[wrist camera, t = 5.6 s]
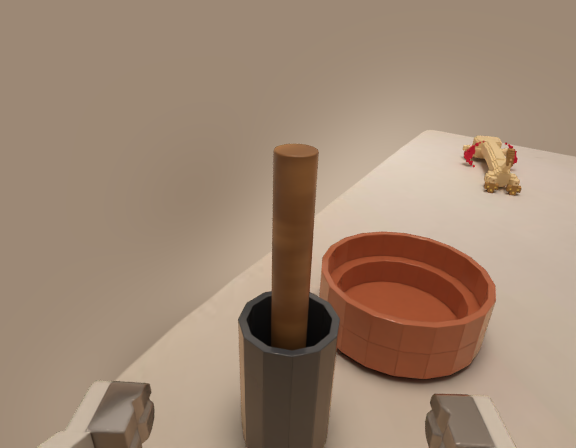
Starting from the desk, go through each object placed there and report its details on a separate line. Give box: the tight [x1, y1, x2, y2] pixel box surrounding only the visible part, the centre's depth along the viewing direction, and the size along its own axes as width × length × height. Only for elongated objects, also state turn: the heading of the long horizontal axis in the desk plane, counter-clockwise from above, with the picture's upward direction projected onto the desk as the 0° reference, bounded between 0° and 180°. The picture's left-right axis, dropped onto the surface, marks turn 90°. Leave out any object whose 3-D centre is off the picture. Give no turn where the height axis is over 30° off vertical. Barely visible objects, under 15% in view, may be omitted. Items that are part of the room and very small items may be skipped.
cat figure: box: [463, 136, 521, 195], centre depth 80 cm, size 10×9×25 cm
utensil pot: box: [238, 291, 340, 448], centre depth 27 cm, size 6×6×10 cm
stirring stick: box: [271, 144, 319, 350], centre depth 24 cm, size 2×2×20 cm
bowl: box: [319, 232, 496, 379], centre depth 38 cm, size 15×15×6 cm
